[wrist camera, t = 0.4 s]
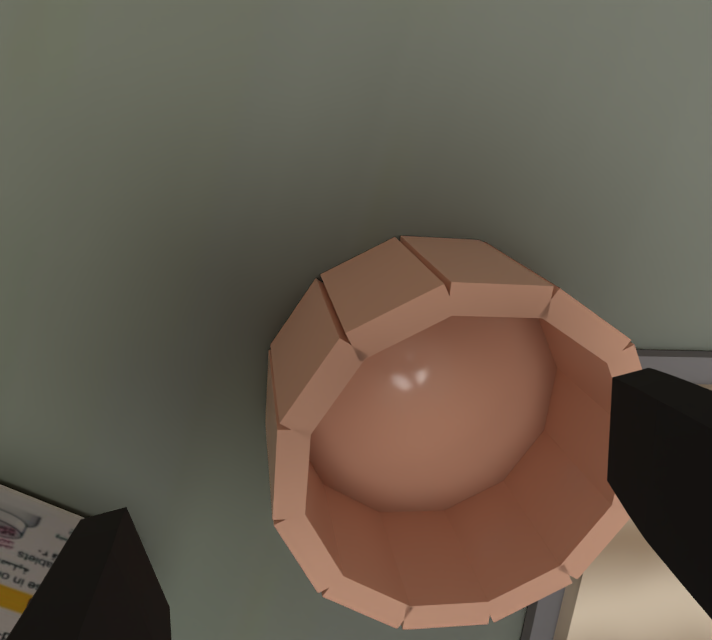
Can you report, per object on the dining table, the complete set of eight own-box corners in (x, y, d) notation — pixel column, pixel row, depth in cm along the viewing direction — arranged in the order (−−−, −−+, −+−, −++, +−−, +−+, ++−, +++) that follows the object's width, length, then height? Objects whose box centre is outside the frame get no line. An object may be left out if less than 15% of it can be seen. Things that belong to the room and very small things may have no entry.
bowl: (535, 512, 24) (608, 616, 19) (260, 521, 22) (266, 638, 17) (591, 245, 20) (695, 291, 16) (274, 229, 18) (285, 275, 14)
